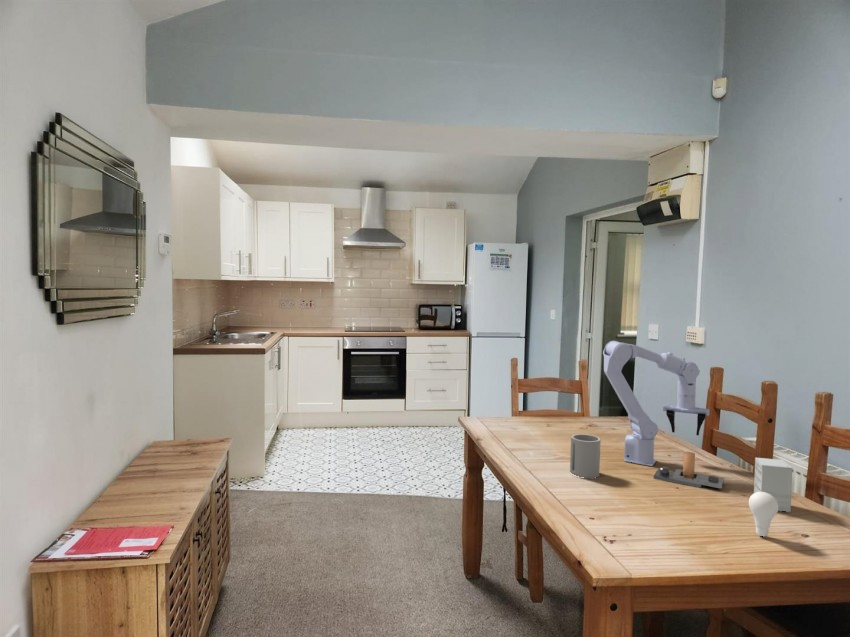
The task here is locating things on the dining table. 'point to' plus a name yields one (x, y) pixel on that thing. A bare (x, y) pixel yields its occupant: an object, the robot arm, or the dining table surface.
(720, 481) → the grey flat plate
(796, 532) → the dining table surface
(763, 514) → the lightbulb
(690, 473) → the pin
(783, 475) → the supplement box
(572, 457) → the cup
